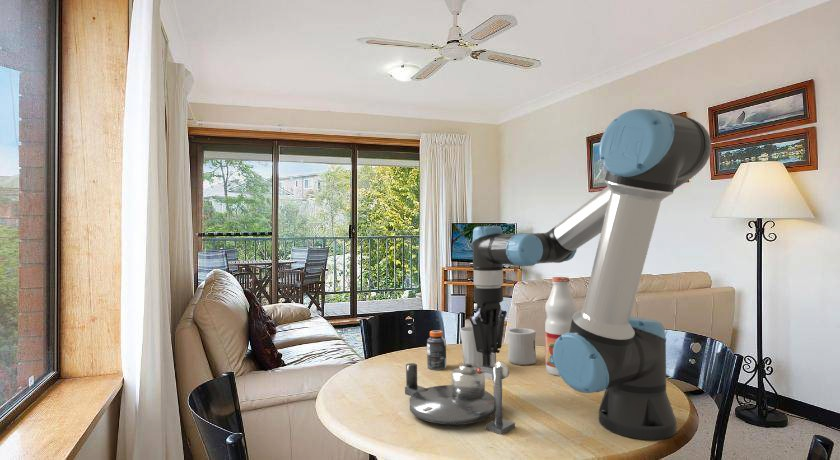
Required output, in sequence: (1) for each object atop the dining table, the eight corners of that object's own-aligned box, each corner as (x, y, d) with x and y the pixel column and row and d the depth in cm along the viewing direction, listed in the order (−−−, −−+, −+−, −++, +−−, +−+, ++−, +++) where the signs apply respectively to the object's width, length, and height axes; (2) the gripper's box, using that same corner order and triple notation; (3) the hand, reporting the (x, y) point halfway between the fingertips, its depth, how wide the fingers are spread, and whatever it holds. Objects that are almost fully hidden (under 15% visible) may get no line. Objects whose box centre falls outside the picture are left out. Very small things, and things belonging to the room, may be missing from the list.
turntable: (512, 405, 110) (512, 374, 110) (457, 432, 96) (456, 396, 96) (434, 382, 128) (434, 355, 128) (378, 402, 114) (377, 372, 114)
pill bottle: (449, 366, 147) (449, 330, 147) (440, 371, 142) (439, 333, 142) (433, 363, 150) (432, 328, 150) (423, 368, 145) (423, 331, 145)
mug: (539, 365, 147) (539, 333, 147) (510, 366, 147) (509, 333, 147) (530, 355, 159) (530, 325, 159) (503, 355, 159) (503, 325, 159)
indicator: (514, 427, 101) (513, 363, 101) (501, 434, 98) (500, 368, 98) (485, 417, 107) (484, 356, 107) (471, 424, 103) (470, 361, 103)
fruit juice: (572, 367, 144) (570, 275, 144) (583, 376, 135) (582, 278, 135) (541, 368, 144) (540, 276, 144) (551, 377, 135) (549, 279, 135)
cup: (486, 372, 140) (485, 332, 140) (459, 371, 142) (458, 331, 142) (487, 365, 148) (487, 326, 148) (462, 364, 150) (461, 326, 150)
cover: (491, 392, 115) (491, 365, 115) (471, 401, 109) (470, 372, 109) (466, 385, 120) (465, 359, 120) (445, 393, 114) (444, 365, 114)
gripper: (491, 283, 128) (492, 369, 128) (460, 287, 119) (462, 381, 119) (514, 284, 123) (516, 375, 123) (484, 290, 113) (485, 387, 113)
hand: (489, 378), depth 121 cm, fingers closed
